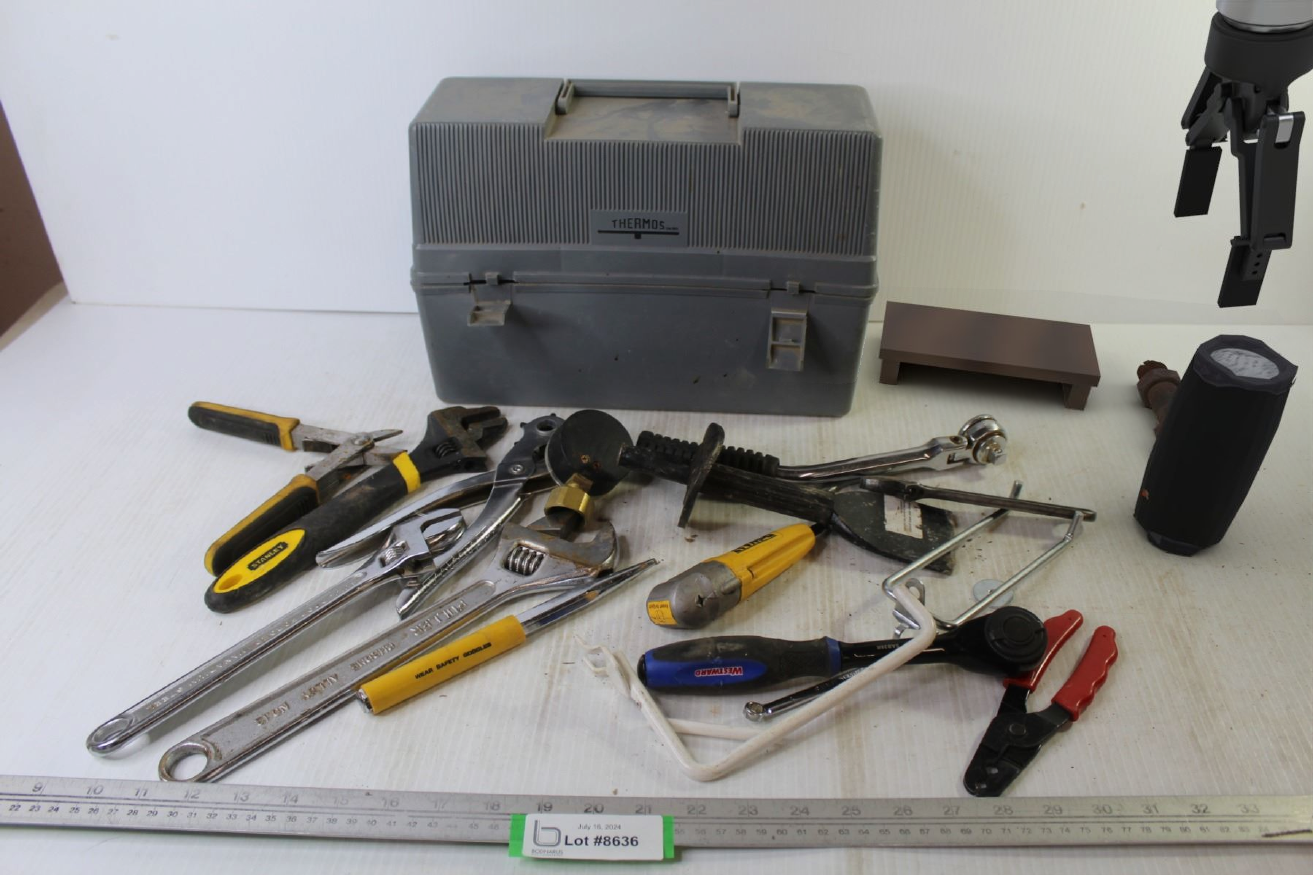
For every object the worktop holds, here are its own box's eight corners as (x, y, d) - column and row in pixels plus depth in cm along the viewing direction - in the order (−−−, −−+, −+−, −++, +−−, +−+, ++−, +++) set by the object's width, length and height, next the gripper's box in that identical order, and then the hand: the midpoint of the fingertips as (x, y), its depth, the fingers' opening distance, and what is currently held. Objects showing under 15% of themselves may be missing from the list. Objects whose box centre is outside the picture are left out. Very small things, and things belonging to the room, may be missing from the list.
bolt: (1148, 397, 116) (1182, 469, 103) (1115, 375, 115) (1145, 446, 102) (1187, 363, 112) (1227, 433, 100) (1153, 340, 112) (1189, 408, 99)
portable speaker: (1128, 550, 91) (1195, 373, 80) (1126, 491, 98) (1188, 321, 87) (1229, 572, 89) (1313, 393, 77) (1219, 510, 96) (1295, 338, 84)
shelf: (1079, 360, 119) (1090, 324, 116) (1089, 413, 110) (1101, 376, 107) (881, 335, 124) (886, 300, 121) (874, 384, 115) (880, 347, 112)
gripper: (1169, -42, 79) (1131, 186, 94) (1272, 97, 62) (1206, 351, 76) (1271, -57, 78) (1216, 177, 92) (1406, 81, 60) (1312, 344, 75)
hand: (1211, 257), depth 84 cm, fingers open, 13 cm apart
